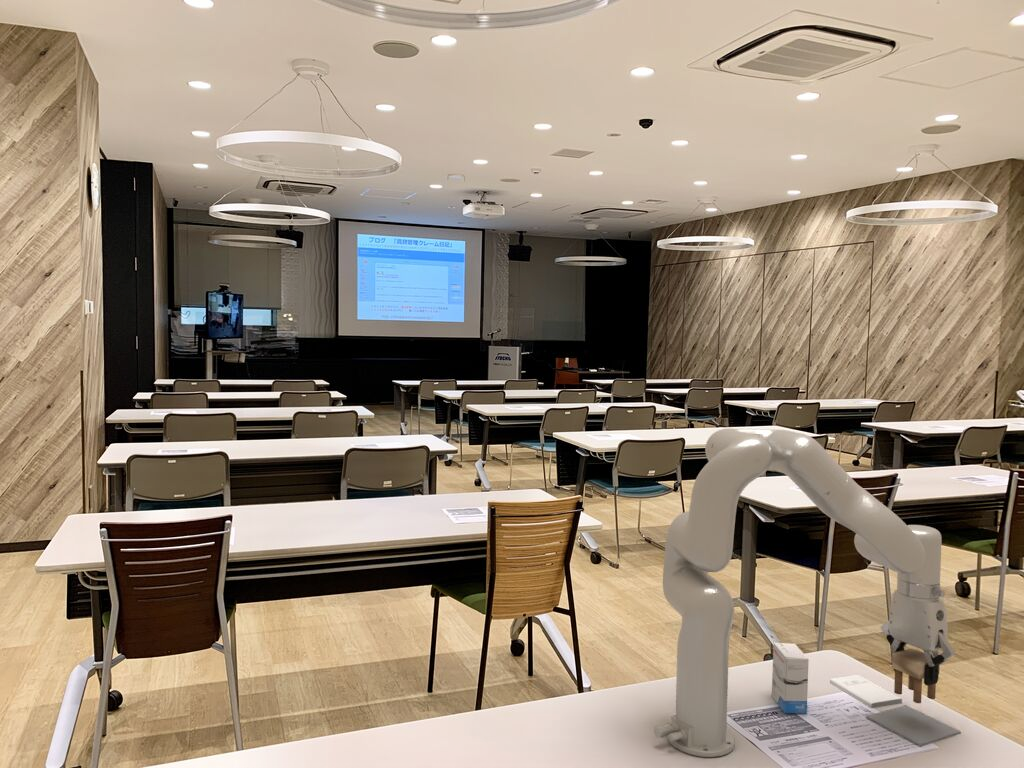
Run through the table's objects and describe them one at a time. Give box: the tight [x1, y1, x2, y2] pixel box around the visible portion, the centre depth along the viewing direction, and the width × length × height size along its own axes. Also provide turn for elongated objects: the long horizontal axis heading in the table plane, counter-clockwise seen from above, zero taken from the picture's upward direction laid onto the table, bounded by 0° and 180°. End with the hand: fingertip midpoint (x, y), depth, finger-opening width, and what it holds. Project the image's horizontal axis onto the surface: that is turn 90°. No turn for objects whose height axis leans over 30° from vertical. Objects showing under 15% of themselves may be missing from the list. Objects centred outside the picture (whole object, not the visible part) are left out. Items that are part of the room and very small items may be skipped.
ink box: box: [771, 642, 810, 715], centre depth 159 cm, size 8×5×12 cm, turn 179°
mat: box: [865, 704, 962, 747], centre depth 151 cm, size 12×12×1 cm
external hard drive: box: [829, 674, 903, 709], centre depth 166 cm, size 2×8×12 cm
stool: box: [891, 647, 941, 704], centre depth 151 cm, size 6×6×8 cm
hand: (915, 676), depth 151 cm, fingers closed on stool, 6 cm apart
